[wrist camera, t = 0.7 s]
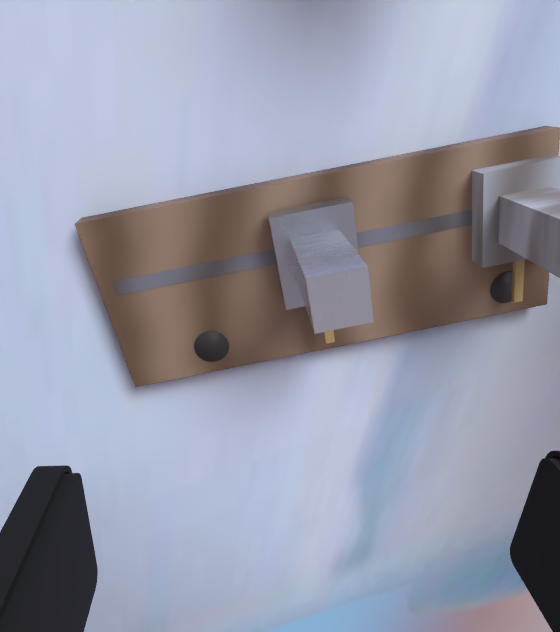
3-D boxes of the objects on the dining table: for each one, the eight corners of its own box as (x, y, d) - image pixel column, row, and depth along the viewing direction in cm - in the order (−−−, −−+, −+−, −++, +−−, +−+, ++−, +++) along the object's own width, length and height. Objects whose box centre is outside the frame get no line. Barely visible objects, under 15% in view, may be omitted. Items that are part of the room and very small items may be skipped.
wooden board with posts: (545, 126, 30) (678, 140, 21) (534, 296, 36) (637, 365, 27) (81, 217, 30) (18, 271, 21) (139, 375, 35) (107, 473, 26)
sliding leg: (347, 196, 29) (386, 231, 22) (361, 325, 33) (399, 391, 26) (267, 212, 29) (279, 252, 22) (291, 339, 33) (308, 410, 26)
